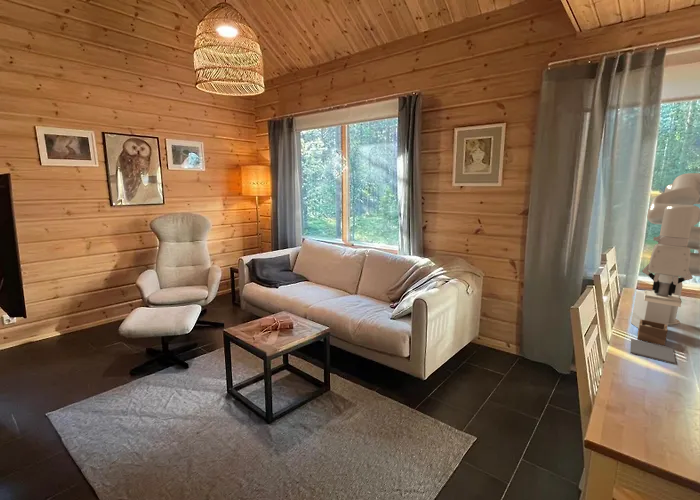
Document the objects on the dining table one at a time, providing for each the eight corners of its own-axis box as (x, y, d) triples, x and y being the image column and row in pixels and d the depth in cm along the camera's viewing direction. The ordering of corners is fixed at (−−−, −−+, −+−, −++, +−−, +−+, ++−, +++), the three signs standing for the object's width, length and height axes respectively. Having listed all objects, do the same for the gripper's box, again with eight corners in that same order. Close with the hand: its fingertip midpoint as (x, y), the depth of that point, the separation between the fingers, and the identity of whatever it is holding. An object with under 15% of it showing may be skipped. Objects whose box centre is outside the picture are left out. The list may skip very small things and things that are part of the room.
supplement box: (667, 333, 146) (674, 298, 143) (642, 331, 148) (648, 296, 145) (653, 325, 155) (660, 291, 152) (629, 322, 156) (635, 289, 153)
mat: (630, 340, 139) (631, 338, 139) (672, 349, 132) (672, 348, 131) (630, 353, 128) (630, 351, 128) (675, 364, 121) (675, 362, 121)
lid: (644, 295, 133) (647, 278, 132) (678, 300, 127) (681, 283, 126) (644, 300, 126) (647, 282, 125) (680, 307, 120) (684, 288, 119)
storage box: (637, 333, 146) (640, 319, 144) (663, 338, 141) (666, 324, 140) (637, 339, 139) (640, 325, 138) (664, 345, 134) (667, 330, 133)
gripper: (642, 240, 125) (633, 291, 128) (707, 246, 115) (696, 301, 118) (642, 238, 131) (633, 286, 134) (704, 243, 121) (693, 296, 124)
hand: (662, 293), depth 126 cm, fingers closed on lid, 3 cm apart
